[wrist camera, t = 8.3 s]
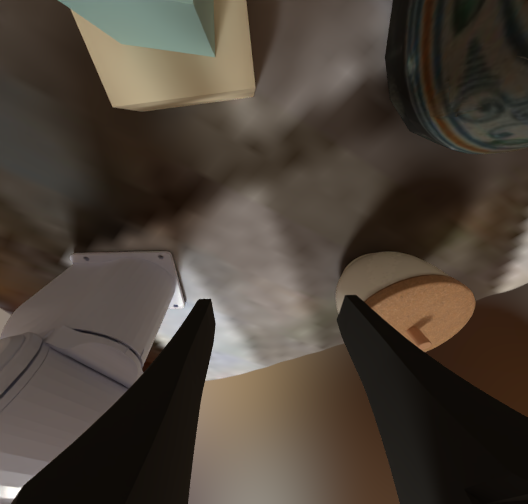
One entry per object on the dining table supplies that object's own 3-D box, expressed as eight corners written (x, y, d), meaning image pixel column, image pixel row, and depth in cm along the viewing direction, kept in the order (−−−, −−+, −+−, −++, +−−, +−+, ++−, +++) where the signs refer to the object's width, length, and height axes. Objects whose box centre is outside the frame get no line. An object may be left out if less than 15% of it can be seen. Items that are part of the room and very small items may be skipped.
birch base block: (144, 112, 14) (112, 107, 11) (74, -81, 10) (-15, -189, 7) (253, 97, 14) (255, 87, 11) (230, -102, 10) (223, -220, 7)
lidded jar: (307, 266, 23) (340, 340, 15) (400, 216, 20) (502, 273, 12) (340, 315, 28) (378, 390, 20) (417, 280, 25) (496, 350, 17)
